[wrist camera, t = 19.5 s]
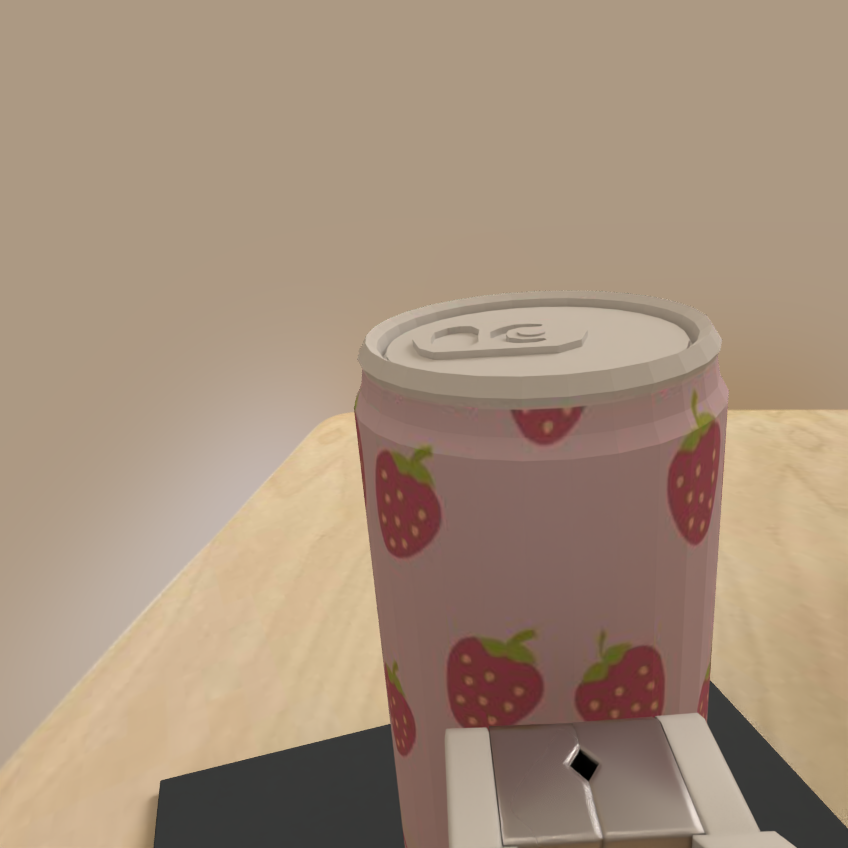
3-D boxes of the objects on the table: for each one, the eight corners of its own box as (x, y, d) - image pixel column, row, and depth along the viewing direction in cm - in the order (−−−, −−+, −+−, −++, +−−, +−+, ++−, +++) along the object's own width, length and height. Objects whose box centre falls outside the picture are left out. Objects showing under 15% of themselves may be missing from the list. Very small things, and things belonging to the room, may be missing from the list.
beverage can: (389, 923, 18) (306, 318, 13) (591, 838, 20) (592, 275, 15) (489, 1211, 13) (422, 418, 8) (747, 1064, 15) (835, 332, 10)
